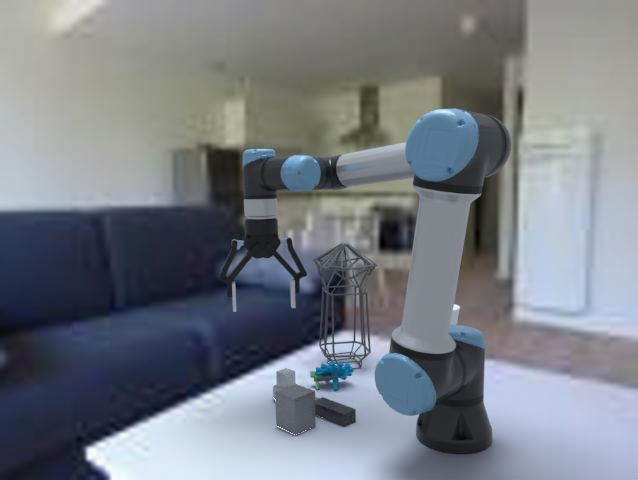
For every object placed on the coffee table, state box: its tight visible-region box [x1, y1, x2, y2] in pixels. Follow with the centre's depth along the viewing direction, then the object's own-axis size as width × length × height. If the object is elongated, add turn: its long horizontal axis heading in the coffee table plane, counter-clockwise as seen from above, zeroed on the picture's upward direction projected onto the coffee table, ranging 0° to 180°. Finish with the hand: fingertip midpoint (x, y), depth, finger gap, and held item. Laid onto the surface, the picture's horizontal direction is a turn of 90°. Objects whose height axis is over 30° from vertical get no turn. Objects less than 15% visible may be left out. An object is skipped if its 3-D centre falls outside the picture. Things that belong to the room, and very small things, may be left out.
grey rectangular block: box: [275, 383, 317, 435], centre depth 122 cm, size 6×6×8 cm
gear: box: [309, 361, 354, 391], centre depth 145 cm, size 11×6×10 cm
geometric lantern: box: [312, 242, 378, 370], centre depth 160 cm, size 16×16×35 cm
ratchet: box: [272, 367, 357, 428], centre depth 132 cm, size 24×6×7 cm, turn 45°
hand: (264, 309), depth 132 cm, fingers open, 13 cm apart
